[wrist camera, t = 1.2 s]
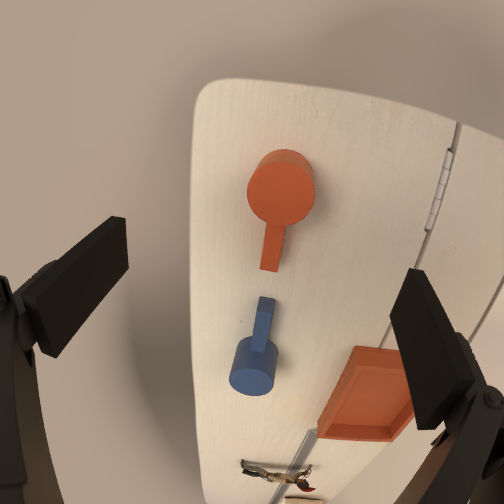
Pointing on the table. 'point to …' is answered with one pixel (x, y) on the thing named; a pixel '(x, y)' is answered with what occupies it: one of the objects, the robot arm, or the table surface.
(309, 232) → the table surface
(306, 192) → the terracotta scoop
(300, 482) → the figurine
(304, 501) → the mug
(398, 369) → the tray
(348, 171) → the table surface
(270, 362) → the blue scoop
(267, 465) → the table surface
